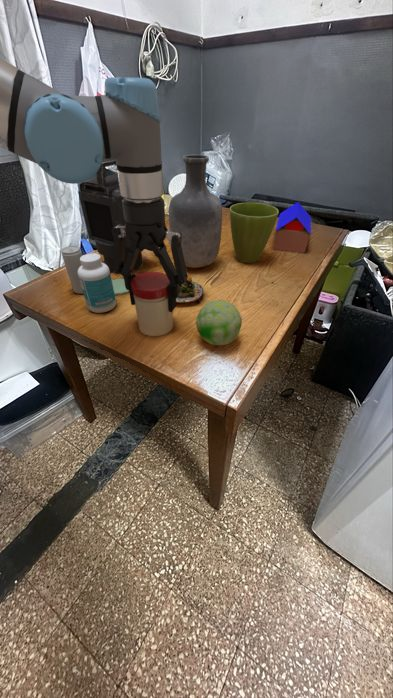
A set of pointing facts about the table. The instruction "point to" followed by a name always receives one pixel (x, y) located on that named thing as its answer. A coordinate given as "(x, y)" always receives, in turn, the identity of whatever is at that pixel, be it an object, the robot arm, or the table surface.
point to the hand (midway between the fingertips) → (153, 305)
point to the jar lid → (150, 285)
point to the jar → (154, 316)
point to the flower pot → (251, 229)
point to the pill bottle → (96, 284)
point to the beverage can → (73, 266)
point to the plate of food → (190, 291)
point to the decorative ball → (218, 322)
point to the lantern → (105, 213)
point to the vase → (197, 215)
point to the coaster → (119, 287)
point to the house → (293, 229)
